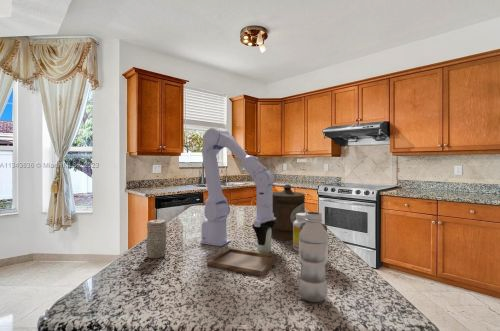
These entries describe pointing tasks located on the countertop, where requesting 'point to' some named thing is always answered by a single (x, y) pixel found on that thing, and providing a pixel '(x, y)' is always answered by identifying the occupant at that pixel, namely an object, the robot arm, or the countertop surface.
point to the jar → (300, 247)
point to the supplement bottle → (297, 229)
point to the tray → (243, 261)
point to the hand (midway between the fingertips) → (264, 242)
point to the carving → (156, 238)
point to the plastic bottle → (313, 259)
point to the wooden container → (286, 212)
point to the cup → (267, 246)
